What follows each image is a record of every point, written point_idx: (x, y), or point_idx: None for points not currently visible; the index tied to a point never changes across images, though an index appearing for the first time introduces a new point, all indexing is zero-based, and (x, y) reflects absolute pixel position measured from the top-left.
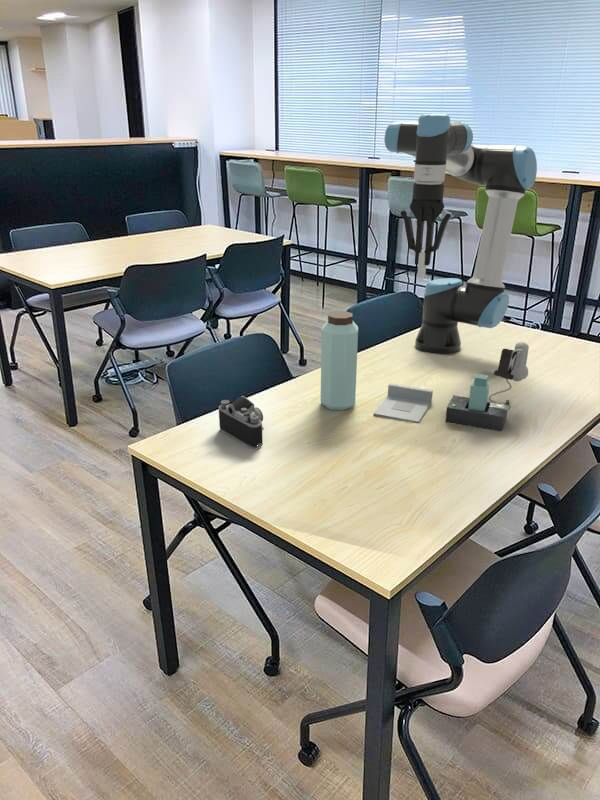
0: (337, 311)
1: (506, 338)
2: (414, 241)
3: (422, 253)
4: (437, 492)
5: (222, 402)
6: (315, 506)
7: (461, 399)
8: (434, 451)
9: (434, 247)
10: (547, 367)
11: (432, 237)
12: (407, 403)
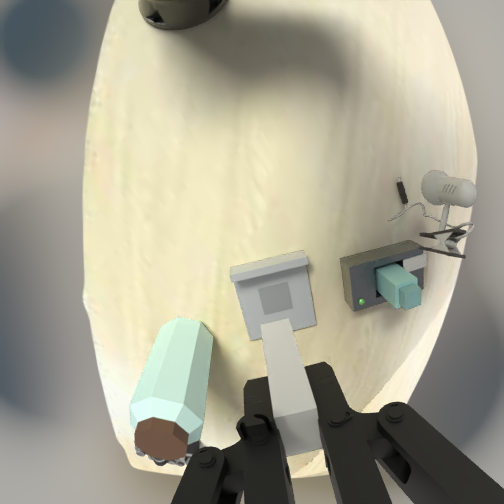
0: (139, 434)
1: None
2: (219, 488)
3: (307, 450)
4: (373, 408)
5: (140, 455)
6: (296, 461)
7: (364, 274)
8: (354, 363)
9: (391, 459)
10: (388, 11)
11: (384, 492)
12: (276, 286)
